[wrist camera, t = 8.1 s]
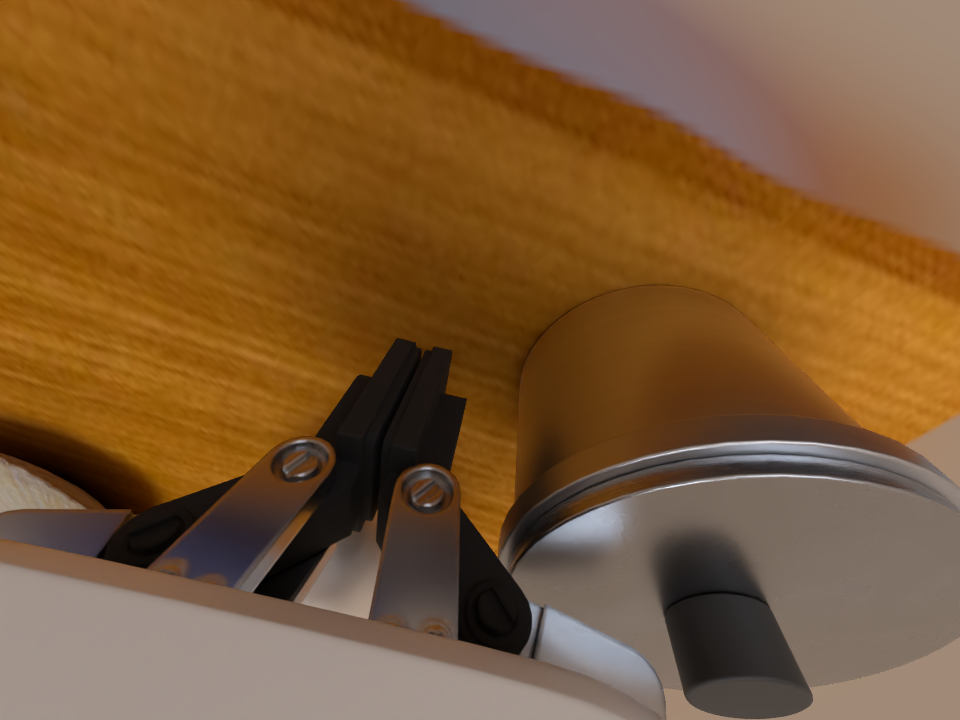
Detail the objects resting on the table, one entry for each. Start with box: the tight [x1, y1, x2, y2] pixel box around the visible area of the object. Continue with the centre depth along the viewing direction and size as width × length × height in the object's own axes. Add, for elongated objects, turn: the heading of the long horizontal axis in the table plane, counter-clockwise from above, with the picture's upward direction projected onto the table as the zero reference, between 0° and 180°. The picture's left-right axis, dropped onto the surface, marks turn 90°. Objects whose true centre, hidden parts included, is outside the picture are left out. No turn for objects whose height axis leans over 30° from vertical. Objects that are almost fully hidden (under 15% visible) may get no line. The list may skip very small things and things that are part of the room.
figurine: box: [302, 510, 381, 619], centre depth 16 cm, size 11×7×15 cm
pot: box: [498, 285, 960, 719], centre depth 9 cm, size 8×8×8 cm
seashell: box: [0, 453, 106, 513], centre depth 19 cm, size 12×12×3 cm
